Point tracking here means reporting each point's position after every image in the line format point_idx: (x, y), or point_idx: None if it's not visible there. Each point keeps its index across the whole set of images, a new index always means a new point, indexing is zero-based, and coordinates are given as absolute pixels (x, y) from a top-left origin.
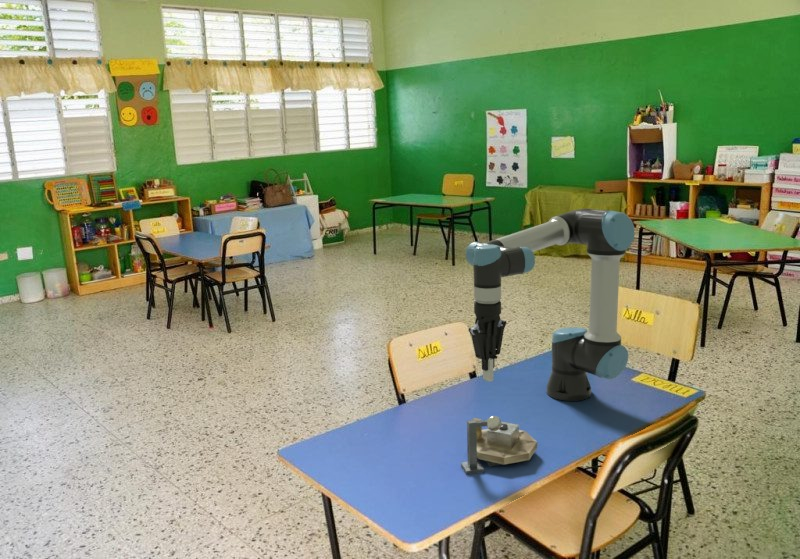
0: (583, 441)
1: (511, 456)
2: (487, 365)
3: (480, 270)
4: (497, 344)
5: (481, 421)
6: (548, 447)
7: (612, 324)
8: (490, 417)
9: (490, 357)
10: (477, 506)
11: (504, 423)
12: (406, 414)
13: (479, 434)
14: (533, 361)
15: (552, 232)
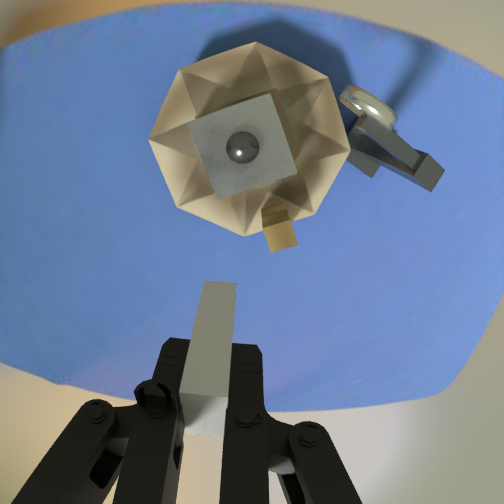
0: (61, 61)
1: (307, 66)
2: (235, 371)
3: None
4: (81, 484)
5: (400, 148)
6: (135, 83)
7: None
8: (388, 120)
9: (182, 415)
10: (456, 61)
11: (213, 164)
12: None
13: (277, 207)
14: None
15: None
